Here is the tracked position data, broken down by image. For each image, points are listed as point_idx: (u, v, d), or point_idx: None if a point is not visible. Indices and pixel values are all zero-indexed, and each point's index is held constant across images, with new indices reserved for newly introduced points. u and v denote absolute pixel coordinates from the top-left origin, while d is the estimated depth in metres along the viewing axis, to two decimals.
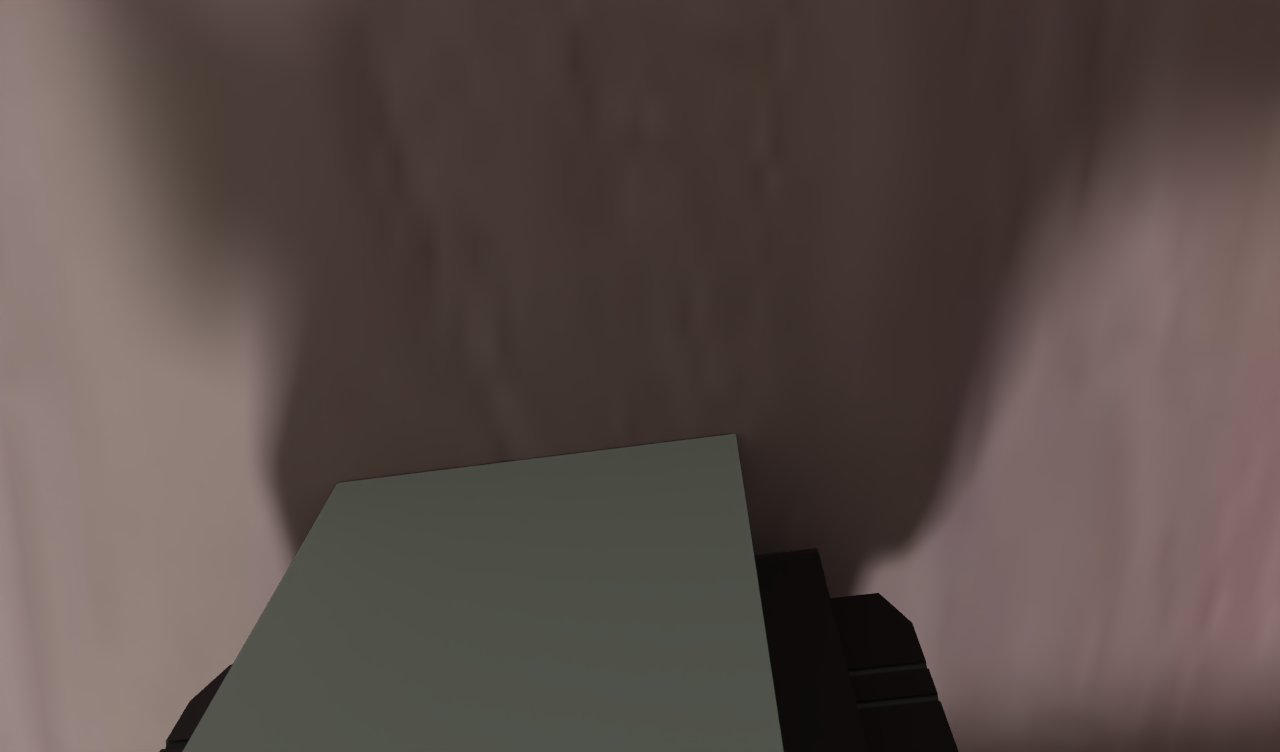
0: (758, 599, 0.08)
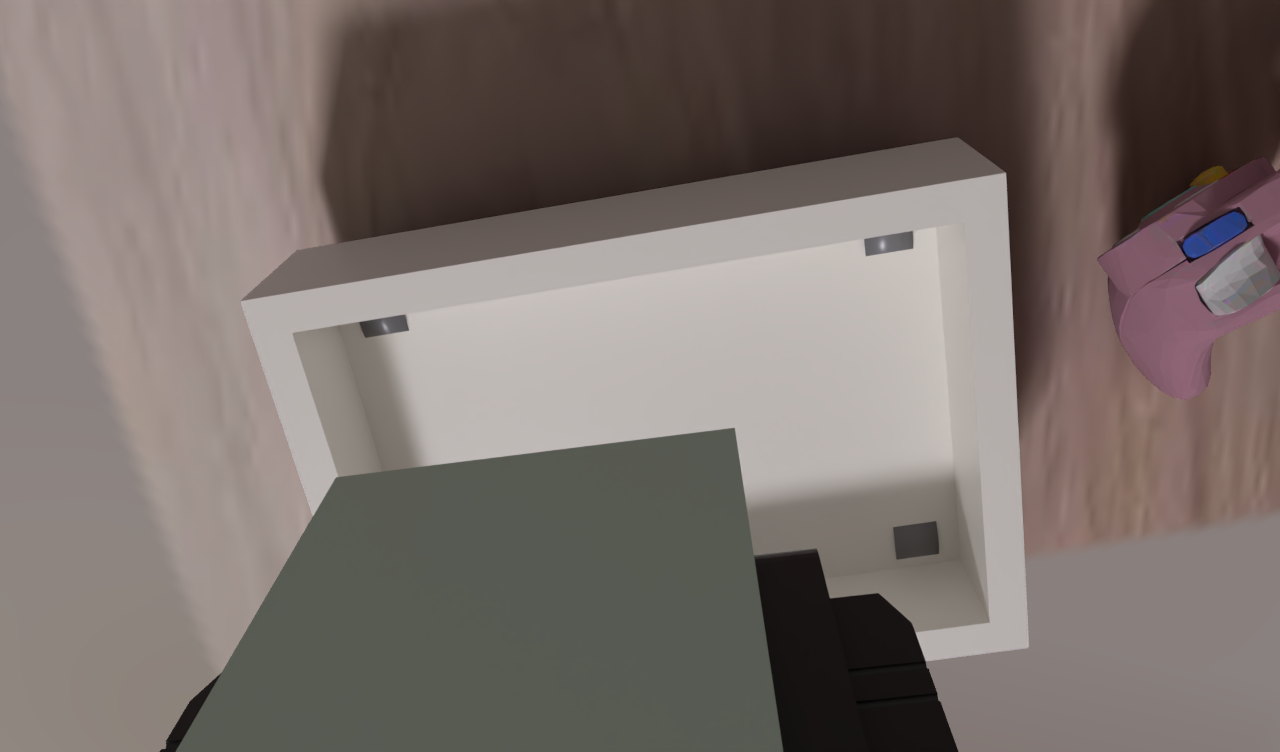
0: (757, 592, 0.08)
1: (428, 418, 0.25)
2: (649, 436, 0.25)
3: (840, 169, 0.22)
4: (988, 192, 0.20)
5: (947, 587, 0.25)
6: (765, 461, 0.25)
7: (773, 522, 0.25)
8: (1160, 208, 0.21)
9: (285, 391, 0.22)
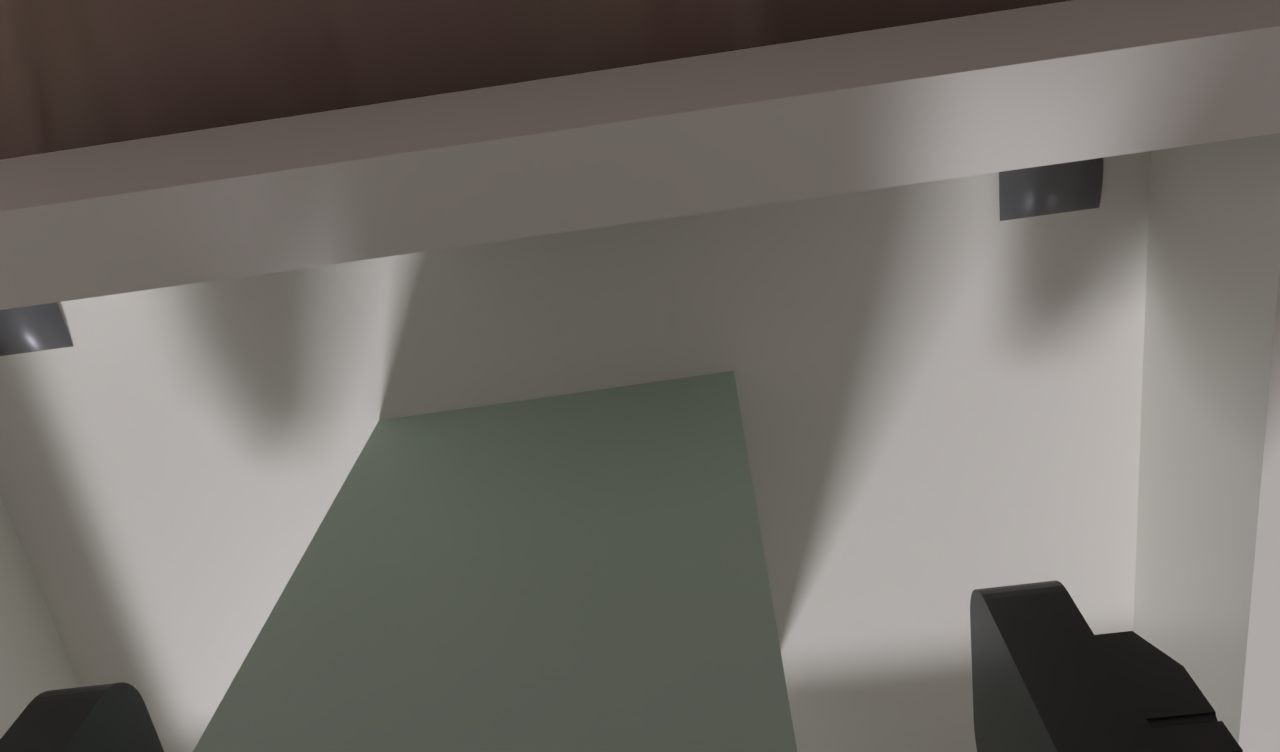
0: (752, 496, 0.09)
1: (126, 516, 0.13)
2: None
3: (962, 31, 0.10)
4: None
5: None
6: (776, 611, 0.13)
7: None
8: None
9: None
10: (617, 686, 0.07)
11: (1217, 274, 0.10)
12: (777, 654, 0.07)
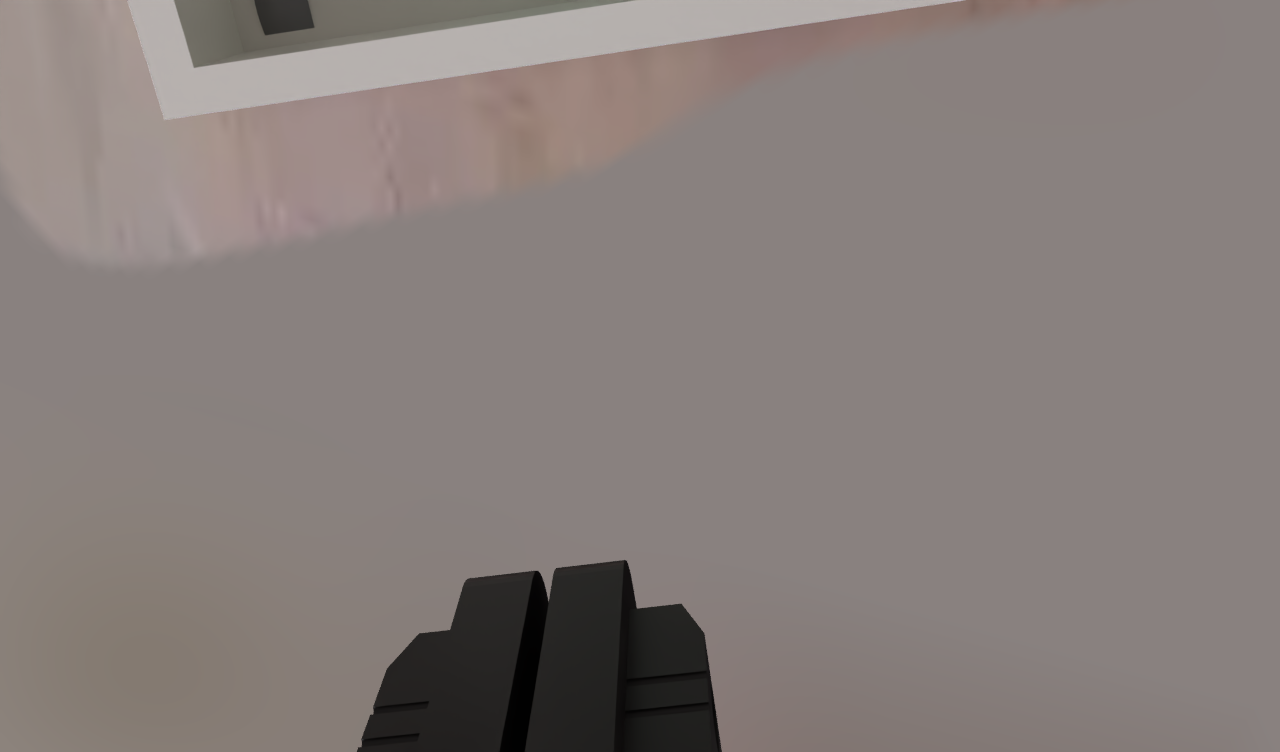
0: None
1: None
2: None
3: None
4: None
5: None
6: None
7: None
8: None
9: None
10: None
11: None
12: None
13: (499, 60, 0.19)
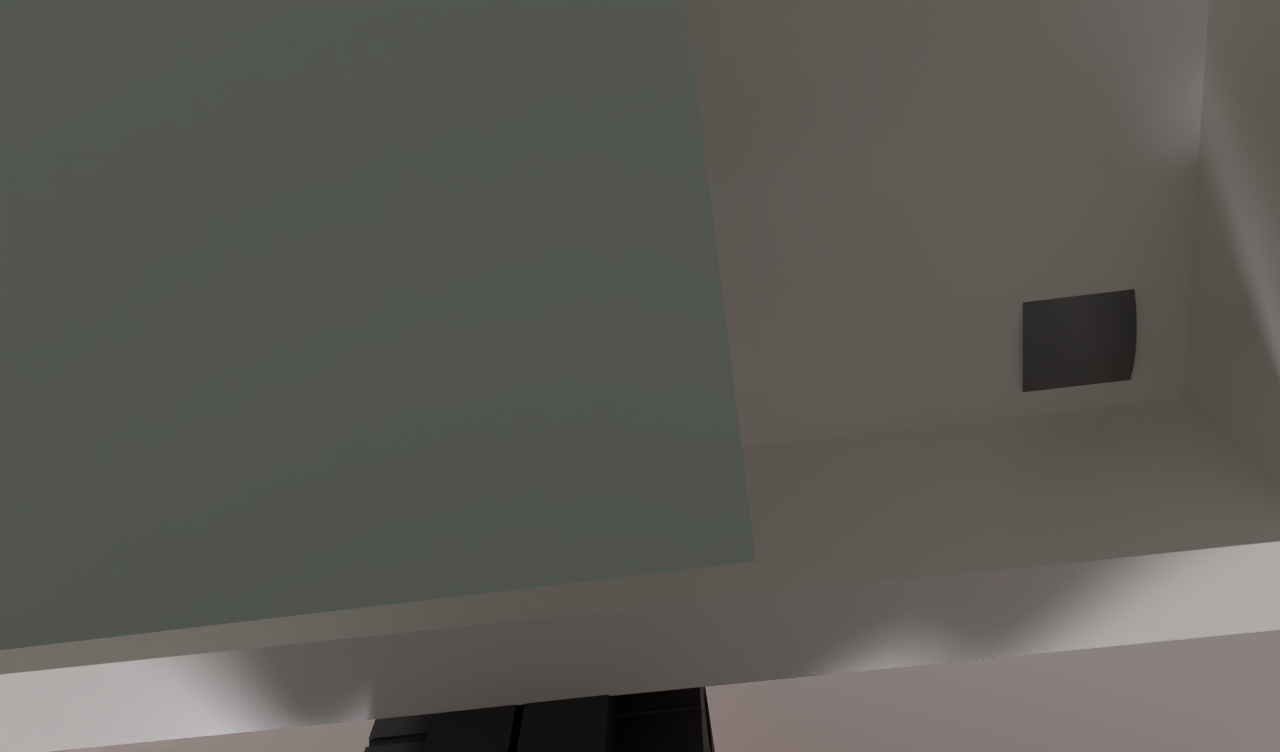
0: None
1: None
2: None
3: None
4: None
5: (1170, 453, 0.09)
6: (699, 96, 0.09)
7: None
8: None
9: None
10: None
11: None
12: None
13: (345, 707, 0.09)
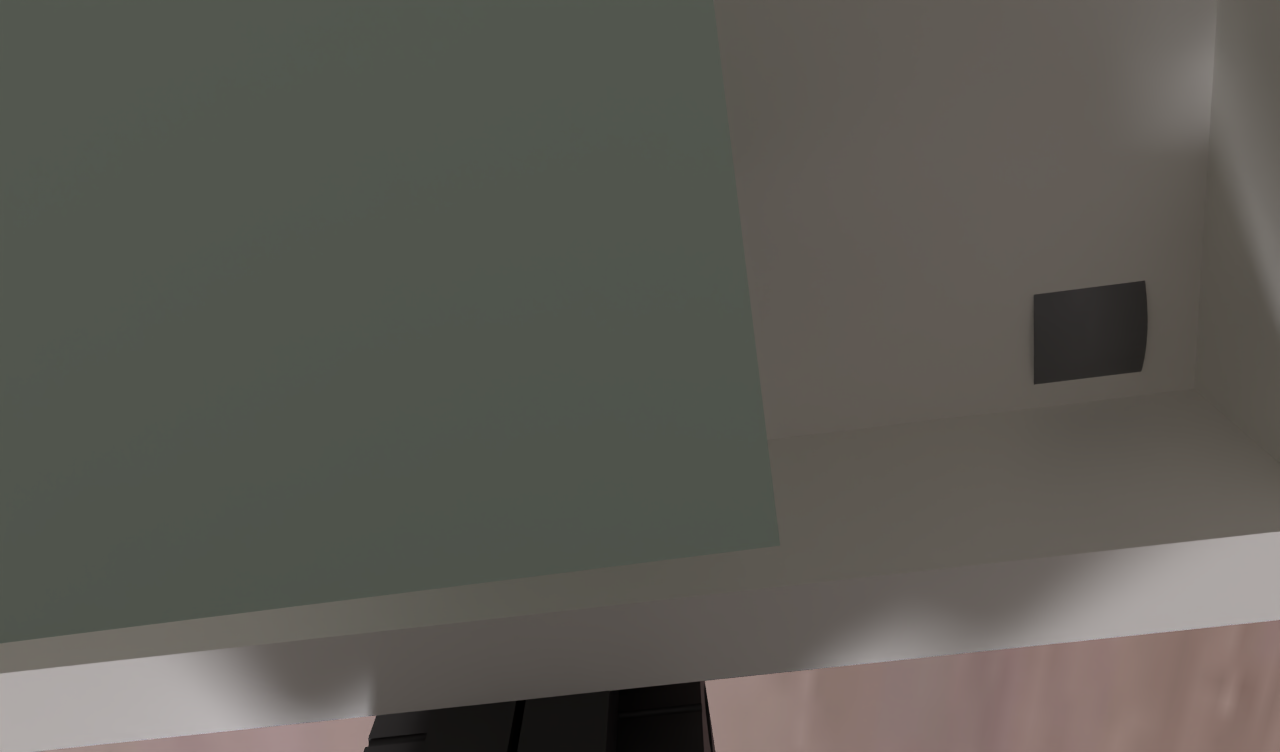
0: None
1: None
2: None
3: None
4: None
5: (1182, 444, 0.09)
6: None
7: None
8: None
9: None
10: None
11: None
12: None
13: (361, 702, 0.09)
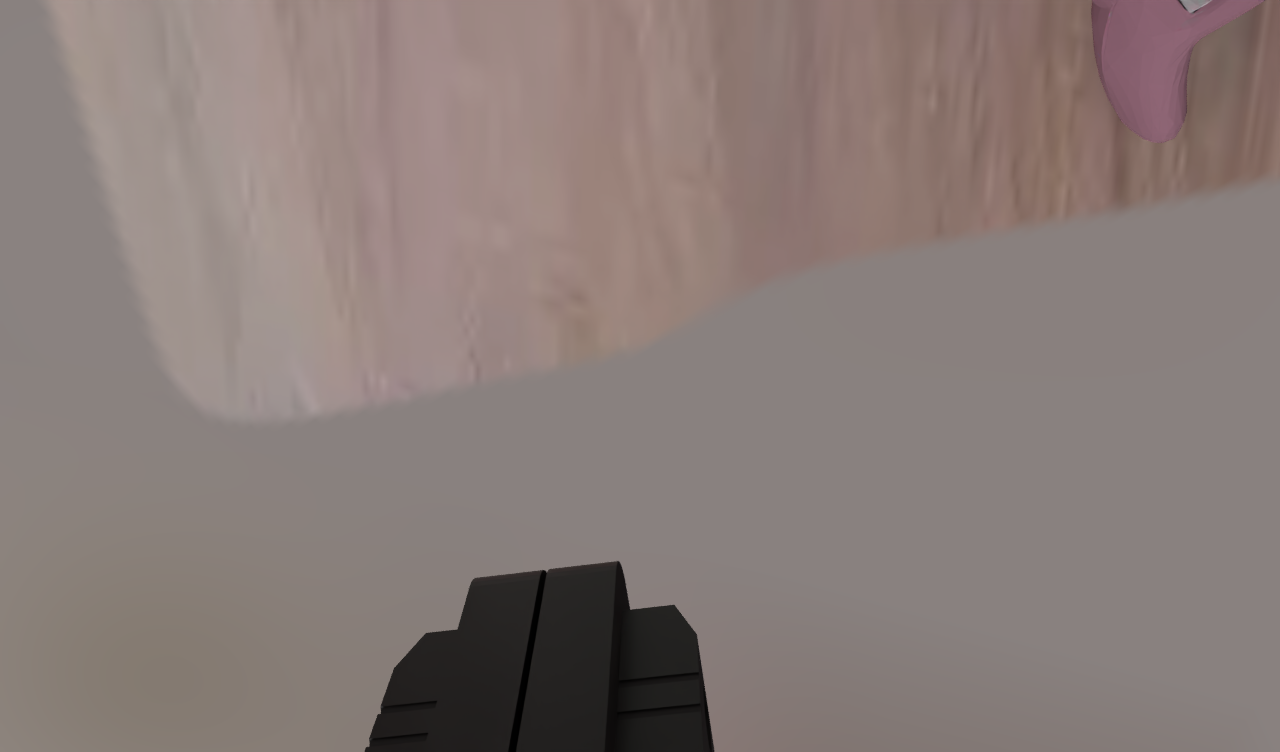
0: None
1: None
2: None
3: None
4: None
5: None
6: None
7: None
8: None
9: None
10: None
11: None
12: None
13: None
